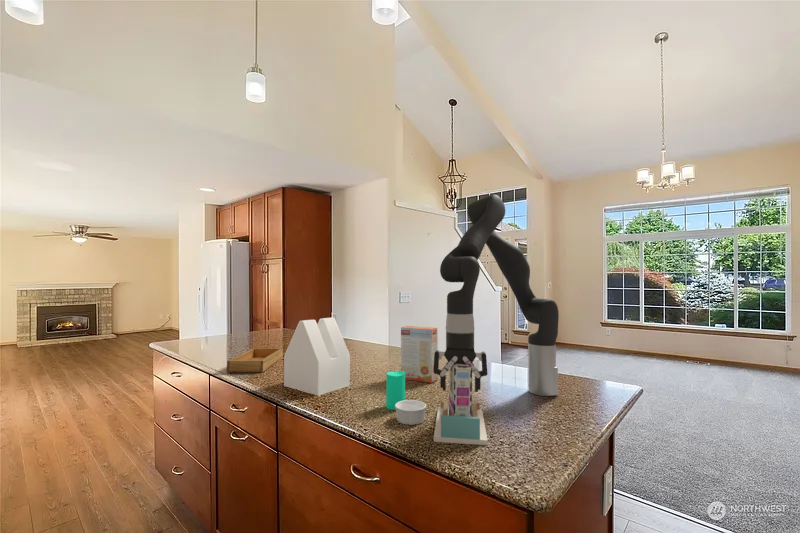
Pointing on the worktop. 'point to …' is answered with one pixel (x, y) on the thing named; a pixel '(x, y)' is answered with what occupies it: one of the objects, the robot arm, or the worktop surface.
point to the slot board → (460, 426)
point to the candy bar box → (460, 390)
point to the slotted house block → (317, 358)
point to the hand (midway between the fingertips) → (460, 390)
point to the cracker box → (418, 353)
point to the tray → (255, 360)
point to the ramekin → (410, 411)
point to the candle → (395, 388)
